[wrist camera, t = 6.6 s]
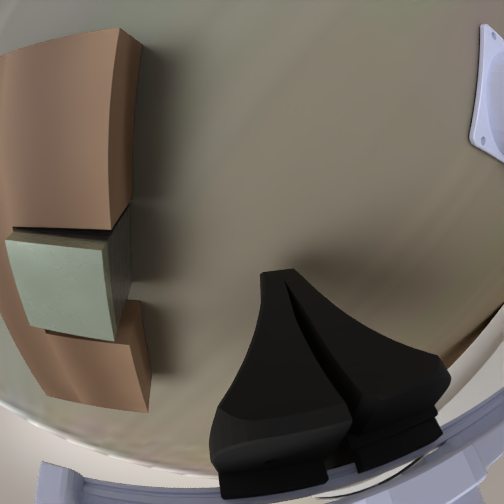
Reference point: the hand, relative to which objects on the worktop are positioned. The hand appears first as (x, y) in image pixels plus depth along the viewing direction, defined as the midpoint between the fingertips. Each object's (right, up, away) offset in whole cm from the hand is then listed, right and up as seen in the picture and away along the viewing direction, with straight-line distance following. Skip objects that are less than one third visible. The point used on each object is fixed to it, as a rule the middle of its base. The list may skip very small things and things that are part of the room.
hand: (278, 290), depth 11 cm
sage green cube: (-8, +2, 0) cm, 9 cm away
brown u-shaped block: (-10, +2, 0) cm, 10 cm away
